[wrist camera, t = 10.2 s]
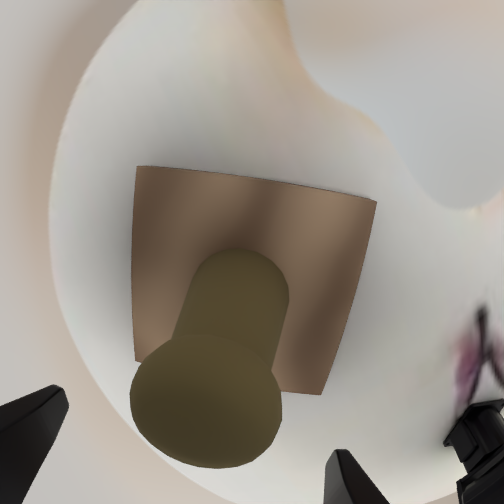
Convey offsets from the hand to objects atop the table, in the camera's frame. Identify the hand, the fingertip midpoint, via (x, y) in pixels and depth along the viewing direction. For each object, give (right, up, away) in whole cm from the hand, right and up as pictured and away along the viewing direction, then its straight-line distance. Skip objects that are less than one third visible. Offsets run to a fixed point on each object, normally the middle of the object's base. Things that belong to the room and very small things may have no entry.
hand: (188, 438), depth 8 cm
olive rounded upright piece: (+1, +3, +11) cm, 11 cm away
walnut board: (+1, +3, +12) cm, 12 cm away
